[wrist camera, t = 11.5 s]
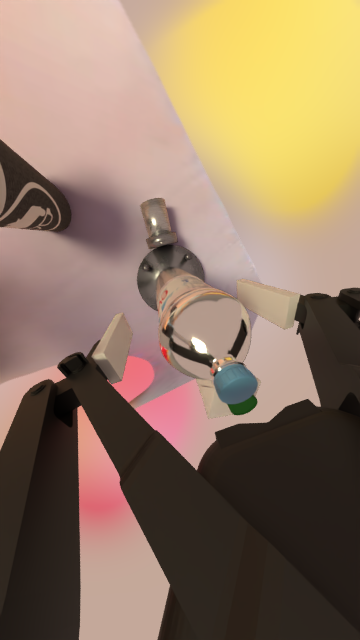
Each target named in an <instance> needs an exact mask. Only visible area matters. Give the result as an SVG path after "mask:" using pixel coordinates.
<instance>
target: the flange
mask: <svg viewBox="0 0 360 640" xmlns="http://www.w3.org/2000/svg"><path fill="white" fill-rule="evenodd" d="M140 207H141V211H142V214H143V218H144V221H145V225H146V228H147V232H148V235H149V238H148V239H146V241H147V244H148V248H149V249H153V248H156V249H154V250H153V251H151V252H150V253H149V254H148V255H147V256H146V257H145V258H144V259H143V261H142V263H141V265H140V267H139V270H138V276H137V283H138V289H139V292H140V294H141V296H142V298H143V299H144V301H145V302H146V303H147V304H148V305H149V306H150V307H151V308H153V309H155V310H156V311H158V309H157V300H156V279H157V276H158V274H159V273H160V272H161V271H162V270H163V269H165V268H167V267H171V266H174V267H179V268H181V269H183V270H185V271H186V272H188V273H190V274H192V275H194V276H196V277H198V278H199V279H201V280H202V281H203V282H204V273H203V269H202V266H201V264H200V262H199V260H198V259H197V258H196V256H195V255H194V254H193V253H191V252H190V251H189V250H187V249H185V248H183V247H180V246H176V245H169V244H173V243H176V242H178V241H177V236H176V232H171V227H170V223H169V218H168V213H167V209H166V204H165V200H164V199H163V198H155V199H150V200H147V201H145V202H143V203H142V204H141V205H140ZM157 247H158V248H157Z"/></svg>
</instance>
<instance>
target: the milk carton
mask: <svg viewBox="0 0 360 640" xmlns="http://www.w3.org/2000/svg"><path fill="white" fill-rule="evenodd" d="M255 378H256V377H255ZM256 379H257V382H258V386H257V389H256V391H255V393H254V394H253V395H252V396H251V397H250V398H249V399H247V400H245V401H243V402H241V403H238V404H226V403H224V402H222V401H221V400H220V399H219V397H218V395H217V392H216V390H215V386H214V385H213V383H212V380H201V379H196V381H197V384H198V386H199V389H200V393H201V396H202V399H203V402H204V406H205V409H206V413H207V416H208V419H210V418H216V417H221V416H227V415H233V414H234V415H243V414H246V413H248V412H250V411H251V410H252V409H254V408H255V406H256V405H257V399H256V397H255V396H256V393H257V391H258V388H259V386H260V383H261V381H260V380H259V379H258V378H256Z"/></svg>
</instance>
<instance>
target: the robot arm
mask: <svg viewBox="0 0 360 640" xmlns="http://www.w3.org/2000/svg"><path fill="white" fill-rule="evenodd" d="M237 300H238V301H239V302H240V303H241V304H242V305H243V306H244V307H245V308H247V309H249V310H251V311H253V312H254V313H256V314H258V315H260V316H262V317H263V318H265V319H267V320H268V321H271V322H272V323H274V324H276V325H277V326H279V327H281V328H283V329H288V328H291V327H293V325H294V320H296V321H299V325H298V329H297V333H296V334H297V335H298V333H300V335H301V338H302V341H303V345H304V348H305V351H306V355H307V358H308V362H309V365H310V368H311V372H312V375H313V379H314V382H315V386H316V389H317V392H318V395H319V399H320V403H321V407H316V406H315V405H314V404H313V403H312V402H311V401H310V400H308V399H306V400H303V401H300V402H298V403H295V404H292V405H289V406H287V407H285V408H284V409H283V410H282V411H281V412H279V413H278V414H277V415H276V416H275V417H274V418H273V419H272V420H271V421H270V422H267V423H249V424H237V425H234V426H231V427H228V428H225V429H223V430H220V431H217V432H215V435H216V441H215V442H214V443H213V444H212V445H211V446H210V447H209V448H208V449H207V451H206V452H205V454H204V455H203V457H202V459H201V461H200V463H199V466H198V469H197V470H195V468H194V467H193V466H191V464H190V463H189V462H188V461H187V460H186V459H185V458H184V457H183V456H182V455H181V454H180V453H179V452H178V451H177V450H176V449H175V448H174V447H173V446H172V445H171V444H170V443H169V442H168V441H167V440H166V439H165V438H164V437H163V436H162V435H161V434H160V433H159V432H158V431H155V430H154V429H153V428H152V427H151V426H150V425H149V424H148V423H147V422H146V421H145V420H144V419H143V418H142V417H141V416H140V415H139V414H138V412H136V410H135V409H134V408H133V407H132V406H131V405H130V404H129V403H128V402H127V401H126V400H125V399H124V398H123V397H122V396H121V395H120V394H119V393H118V392H117V391H116V390H115V389H114V388H113V386H112V385H111V384H113V383H117V382H120V381H122V378H123V373H124V369H125V364H126V361H127V356H128V352H129V348H130V343H131V339H132V335H133V333H132V331H131V328H130V326H129V324H128V322H127V320H126V318H125V316H124V314H123V313H120V314H116V315H115V317H114V319H113V320H112V322H111V324H110V325H109V327H108V329H107V330H106V332H105V334H104V336H103V337H102V339H101V340H99V341H98V342H97V343H96V344H95V345H94V346H93V347H92V350H91V351H90V352H89V354H88V355H87V357H85V356H84V355H83V353H81V352H77V353H74V354H72V355H70V356H68V357H66V358H65V359H63V360H62V361H61V362H60V363H59V364H58V367H57V368H58V369H59V370H60V371H61V372H62V373H63V374H64V375H65V376H66V378H65V379H63V380H61V381H60V382H57V383H54V382H53V381H52V380H49V379H48V380H44V381H42V382H40V383H38V384H36V385H34V386H33V387H32V388H30V389H29V391H28V392H27V393H26V394H25V395H24V396H23V398H22V401H21V403H20V405H19V408H18V410H17V412H16V415H15V417H14V420H13V422H12V424H11V427H10V429H9V431H8V434H7V436H6V439H5V441H4V443H3V446H2V448H1V450H0V640H79V628H80V532H79V478H78V476H79V475H78V420H77V407H79V406H81V405H82V407H83V409H84V410H85V413H86V414H87V416H88V418H89V420H90V422H91V424H92V425H93V427H94V429H95V431H96V433H97V435H98V436H99V438H100V440H101V442H102V444H103V446H104V448H105V449H106V451H107V453H108V455H109V457H110V459H111V460H112V462H113V464H114V466H115V468H116V469H117V471H118V473H119V476H120V486H121V489H122V491H123V494H124V496H125V498H126V500H127V502H128V503H129V505H130V507H131V509H132V511H133V513H134V515H135V517H136V519H137V521H138V523H139V525H140V527H141V529H142V531H143V533H144V535H145V537H146V538H147V541H148V543H149V544H150V546H151V548H152V550H153V552H154V554H155V556H156V558H157V560H158V562H159V564H160V566H161V568H162V570H163V572H164V574H165V576H166V578H167V580H168V582H169V584H170V588H169V593H168V597H167V601H166V605H165V610H164V614H163V618H162V623H161V627H160V632H159V636H158V640H360V321H359V320H358V319H359V317H360V288H349V289H342V290H341V291H340V293H339V296H338V297H331V296H329V295H327V294H321V293H313V294H307V295H306V296H303V295H300V294H297V293H294V292H290V291H287V290H282V289H279V288H275V287H271V286H267V285H264V284H260V283H257V282H253V281H249V280H245V279H241V280H237ZM107 379H108V380H109V382H110V383H111V384H110V383H109V382H108V381H107Z"/></svg>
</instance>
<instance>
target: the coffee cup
mask: <svg viewBox="0 0 360 640" xmlns="http://www.w3.org/2000/svg"><path fill="white" fill-rule="evenodd" d="M70 221H71V210H70V207H69V204H68V202H67V200H66V198H65V197H64V195H63V194H62V193H61V192H60V190H59V189H57V188H56V187H55V186H54V185H53V184H52V183H51V182H49V181H48V180H47V179H46V178H45V177H44V176H42V175H41V174H40V173H39V172H38V171H37V170H35V169H34V168H33V167H32V166H31V165H30V164H28V163H27V162H26V161H25V160H24V159H23V158H21V157H20V156H19V155H18V154H17V153H16V152H14V151H13V150H12V149H11V148H10V147H9V146H7V145H6V144H5V143H4V142H3V141H2V140H0V227H7V228H19V229H30V230H42V231H53V232H58V231H62V230H64V229H66V228H67V227H68V225H69V224H70Z"/></svg>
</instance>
